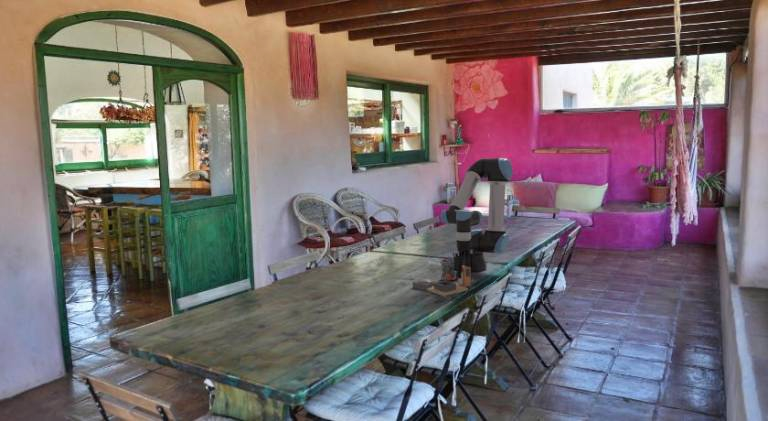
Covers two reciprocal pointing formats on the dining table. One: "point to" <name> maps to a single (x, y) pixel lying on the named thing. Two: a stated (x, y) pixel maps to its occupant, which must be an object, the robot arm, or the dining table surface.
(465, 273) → the plug
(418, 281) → the grey domed square block
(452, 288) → the board
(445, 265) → the mug
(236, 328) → the dining table surface
